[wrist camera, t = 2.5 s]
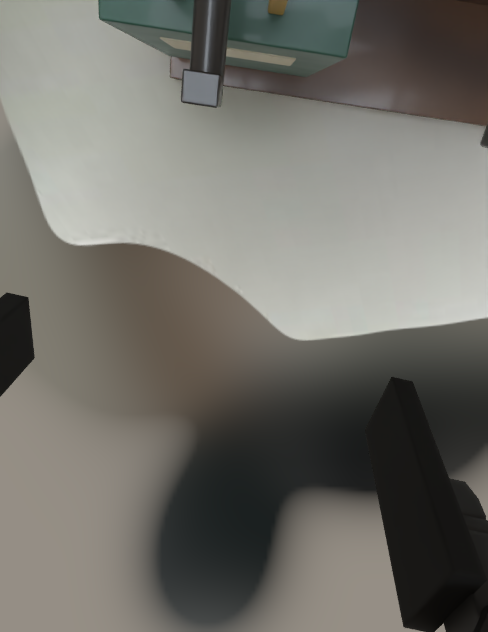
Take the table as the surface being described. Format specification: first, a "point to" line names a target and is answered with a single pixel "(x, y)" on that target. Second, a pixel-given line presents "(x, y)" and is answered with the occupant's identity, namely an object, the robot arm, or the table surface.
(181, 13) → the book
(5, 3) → the table surface
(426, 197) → the table surface
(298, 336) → the table surface
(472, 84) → the hook rack
